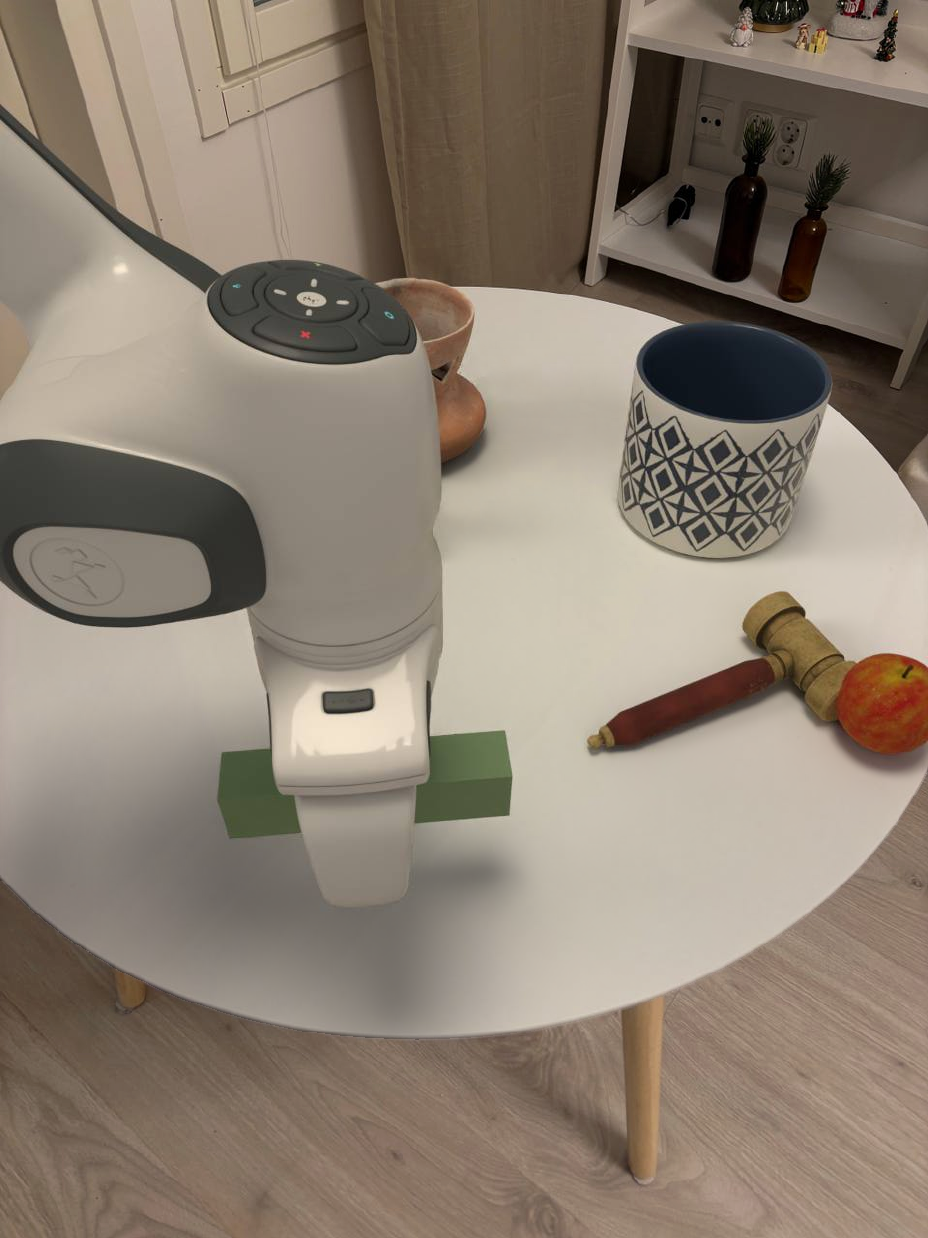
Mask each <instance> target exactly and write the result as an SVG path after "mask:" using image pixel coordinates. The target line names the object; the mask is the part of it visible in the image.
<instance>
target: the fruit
mask: <svg viewBox="0 0 928 1238" xmlns="http://www.w3.org/2000/svg"><path fill="white" fill-rule="evenodd" d="M856 663H857V664H856V665H854V666H853V667H852V668H851V669H850V670H849V671H848V673H847V674H846V675H845V678H844V680H843V682H842V685H841V688H840V692H839V695H838V697H837V701H836V710H837V715H838V719H839V720H838V721H839V724H840V725H841V727H842V728H843V730H844V732H845V733H847V735H848V736H849V737H850V738H851V739H852V740H854V741H855V742H856V743H858V744H859V745H860V746H862V747H864V748H865V749H868V750H870V751H872V752H875V753H879V754H884V755H885V754H886V755H897V754H898V755H900V754H905V753H910V752H912V751H915V750H917V749H918V748H920V747H922V746H924V745H926V744H927V743H928V666H927V665H925V664H924V663H923V662H921V661H920V660H918V659H916V658H913V657H910V656H907V655H903V654H899V653H898V654H897V653H891V652H884V653H877V654H872V655H869V656H867V657H865V658H863V659H861V660H859V661H858V662H856Z"/></svg>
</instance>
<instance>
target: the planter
mask: <svg viewBox="0 0 928 1238" xmlns="http://www.w3.org/2000/svg"><path fill="white" fill-rule="evenodd" d="M635 359H636V360H635V365H634V372H633V378H632V386H631V393H630V399H629V400H630V401H629V406H628V413H627V420H626V427H625V435H624V442H623V450H622V457H621V463H620V472H619V479H618V486H617V502H618V505H619V508H620V510H621V512H622V514H623V516H624V517H625V519H626V520H627V522H629V524H630V525H631V526H632V527H633V529H635V530H636V531H637V532H638V533H640V534H641V535H642V536H643V537H645V538H646V539H648V540H650V541H651V542H653V543H655V544H657V545H659V546H661V547H663V548H665V549H668V550H671V551H674V552H677V553H680V554H685V555H689V556H693V557H700V558H708V559H709V558H710V559H726V558H736V557H742V556H747V555H751V554H754V553H756V552H759V551H762V550H764V549H766V548H768V547H770V546H771V545H773V544H774V543H775V542H777V541H778V540H779V539H781V537H782V536H783V535H784V534H785V532H786V531H787V530H788V528H789V525H790V523H791V521H792V518H793V515H794V512H795V509H796V506H797V502H798V499H799V497H800V493H801V490H802V487H803V484H804V480H805V477H806V474H807V471H808V469H809V465H810V462H811V458H812V455H813V453H814V449H815V446H816V442H817V439H818V436H819V433H820V429H821V428H822V427H821V426H822V423H823V420H824V417H825V414H826V410H827V407H828V403H829V401H830V397H831V394H832V388H833V376H832V373H831V371H830V369H829V366H828V364H827V363H826V362H825V361H824V359H823V358H822V357H821V356H820V355H819V354H818V353H817V352H816V351H815V350H814V349H813V348H811V347H810V346H808V345H807V344H806V343H804V342H802V341H800V340H798V339H796V338H794V337H793V336H790V335H788V334H786V333H783V332H781V331H778V330H774V329H772V328H769V327H765V326H760V325H756V324H751V323H745V322H737V321H727V320H709V321H707V320H706V321H696V322H689V323H684V324H680V325H675V326H673V327H670V328H668V329H665V330H662V331H660V332H658V333H657V334H655V335H653V336H652V337H650V338H649V339H648V340H647V341H646V342H645V343H644V344H643V345H642V347H641V348H640V349H639V351H638V353H637V355H636V358H635Z"/></svg>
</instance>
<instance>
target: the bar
mask: <svg viewBox="0 0 928 1238" xmlns="http://www.w3.org/2000/svg"><path fill="white" fill-rule="evenodd" d="M430 748H431V757H430V758H429V764H430V776H429V779H428V780H427V782H426V783H423V784H419V785H417V786H416V806H415V820H414V825H415V824H426V823H439V822H450V821H463V820H474V819H475V820H476V819H484V818H485V819H486V818H497V817H498V818H499V817H509V816H510V814H511V803H512V790H513V789H512V788H513V775H514V774H513V771H512V770H513V769H512V764H511V760H510V759H511V758H510V751H509V745H508V740H507V734H506V730H491V731H490V730H489V731H477V732H464V733H451V734H439V735H430ZM218 775H219V776H218V786H217V796H216V801H217V804H218V808H219V811H220V814H221V816H222V820H223V822H224V825H225V829H226V831H227V835H228V838H229V840H237V839H238V840H239V839H249V838H261V837H271V836H284V835H286V836H287V835H295V834H296V835H297V834H302V833H301V829H300V825H299V820H298V815H297V810H296V804H295V798H294V795H283V794H281V793H280V792H279V791H278V789H277V786H276V783H275V779H274V775H273V768H272V757H271V750H270V747H269V748H258V749H245V750H244V749H243V750H231V751H221V754H220V766H219V774H218Z"/></svg>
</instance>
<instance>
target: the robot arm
mask: <svg viewBox="0 0 928 1238" xmlns="http://www.w3.org/2000/svg"><path fill="white" fill-rule="evenodd" d="M374 283H375V282H373V281H371V280H369V279H367V278H364V277H363V276H362V275H360V274H357V273H355V272H353V271H350V270H348V269H345V268H342V267H338V266H335V265H332V264H331V265H330V264H328V263H322V262H318V261H311V260H305V259H304V260H303V259H275V260H265V261H259V262H252V263H247V264H244V265H241V266H238V267H236V268H234V269H231V270H229V271H227V272H225V273H224V274H221V273H219V272H218V271H217V270H216V269H214V268H212V267H211V266H210V265H208V263H205V262H203V261H202V260H200V259H199V258H197V257H195V256H193V255H192V254H191V253H189V252H186V251H185V250H184V249H181V248H179V247H178V246H175V245H174V244H172V243H170V242H168V241H167V240H164V239H163V238H161V237H159V236H157V235H156V234H154V233H152V232H150V231H149V230H146V229H145V228H143V227H142V226H140V225H139V224H137V223H136V222H134V221H133V220H131V219H130V218H128V217H127V216H125V215H124V214H122V213H121V212H120V211H118V210H117V209H116V208H115V207H113V206H112V205H111V204H110V203H108V202H107V201H106V199H103V197H102V196H100V195H99V194H98V193H97V192H95V190H93V189H92V188H91V187H90V186H89V185H88V184H87V183H86V182H84V181H83V179H82V178H81V177H80V176H78V174H76V173H75V172H74V171H73V170H72V169H71V168H69V166H68V165H67V164H65V163H64V162H63V161H62V160H61V159H60V158H59V157H58V156H57V155H56V154H55V153H54V152H53V151H51V150H50V149H49V148H48V146H46V145H45V144H44V143H43V142H42V141H41V140H39V139H38V138H37V136H36V135H34V134H33V133H32V132H31V131H30V130H29V129H28V128H27V127H26V126H25V125H23V124H22V123H21V122H20V121H19V120H18V119H17V118H16V117H15V116H14V115H13V114H12V113H11V112H10V111H8V109H6V108H5V107H4V106H3V105H2V104H1V103H0V303H1V304H3V306H5V307H6V308H7V309H8V310H9V311H10V313H11V314H12V315H13V316H14V317H15V319H16V320H17V322H18V324H19V325H20V327H21V328H22V331H23V332H24V335H25V337H26V340H27V342H28V345H29V346H28V347H29V350H30V352H29V354H28V356H27V357H26V359H25V361H24V363H23V364H22V367H21V368H20V370H19V372H18V374H17V375H16V377H15V379H14V380H13V383H12V384H11V385H9V387H8V388H6V391H5V393H4V394H3V395H2V397H1V399H0V582H1V583H2V585H4V586H5V587H6V588H7V589H8V590H10V591H11V592H12V593H14V594H15V595H16V596H18V597H19V598H21V599H22V600H24V601H25V602H27V603H29V604H30V605H32V606H33V607H35V608H37V609H39V610H40V611H42V612H44V613H47V614H48V615H51V616H53V617H55V618H58V619H59V620H63V621H66V622H69V623H72V624H75V625H76V624H77V625H81V626H86V627H87V626H88V627H96V628H118V629H119V628H120V629H121V628H124V629H126V628H145V627H152V626H159V625H164V624H165V625H166V624H172V623H179V622H186V621H193V620H199V619H205V618H211V617H217V616H223V615H226V614H230V613H234V612H235V613H236V612H238V611H241V610H245V609H246V613H247V617H248V621H249V626H250V632H251V637H252V640H253V650H254V654H255V658H256V662H257V667H258V671H259V675H260V678H261V680H262V684H263V688H264V690H265V693H266V694H265V696H266V697H265V698H266V704H267V714H268V729H269V730H268V731H269V732H268V733H269V748H270V750H271V757H272V768H273V775H274V779H275V783H276V786H277V789H278V791H279V792H280V793H281V794H283V795H294V798H295V804H296V810H297V815H298V820H299V825H300V829H301V833H300V834H301V836H302V840H303V844H304V846H305V847H304V848H305V849H306V852H307V855H308V858H309V862H310V865H311V868H312V871H313V874H314V876H315V879H316V882H317V885H318V888H319V890H320V892H321V895H322V897H323V899H324V900H325V901H326V902H327V903H328V904H330V905H332V906H336V907H345V908H346V907H352V908H353V907H368V906H377V905H384V904H389V903H392V902H396V901H398V900H400V899H401V898H403V896H405V895H406V892H407V890H408V887H409V881H410V872H411V863H412V854H413V853H412V852H413V844H414V843H413V841H414V832H415V830H414V829H415V824H414V820H415V806H416V786H417V785H419V784H423V783H426V782H427V780H428V779H429V776H430V764H429V758H430V757H431V748H430V736H431V731H430V730H431V713H432V696H433V694H434V693H433V692H434V688H435V684H436V680H437V675H438V670H439V664H440V659H441V657H442V653H443V647H444V607H443V562H442V556H441V555H442V554H441V552H440V548H439V545H438V542H437V540H436V538H435V536H434V533H433V531H434V529H433V528H434V525H435V522H436V520H437V517H438V514H439V511H440V507H441V501H442V463H441V454H440V435H439V423H438V412H437V404H436V397H435V390H434V384H433V378H432V373H431V368H430V363H429V359H428V356H427V352H426V349H425V346H424V344H423V341H422V339H421V336H420V333H419V331H418V329H417V327H416V325H415V323H414V322H413V320H412V318H411V317H410V315H409V314H408V313H407V311H406V310H405V309H404V308H403V306H402V305H401V304H400V303H399V302H398V301H397V300H396V299H395V298H394V297H393V296H391V295H390V294H389V293H388V292H386V291H385V290H384V289H382V288H381V287H379V286H378V285H376V284H374Z"/></svg>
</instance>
